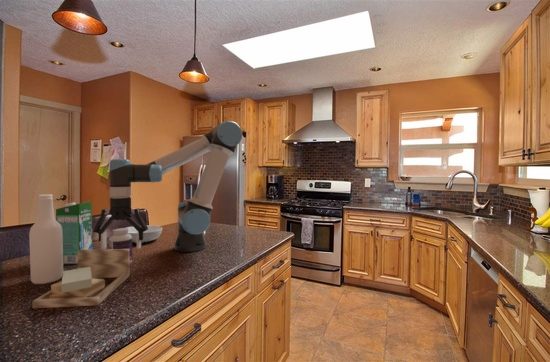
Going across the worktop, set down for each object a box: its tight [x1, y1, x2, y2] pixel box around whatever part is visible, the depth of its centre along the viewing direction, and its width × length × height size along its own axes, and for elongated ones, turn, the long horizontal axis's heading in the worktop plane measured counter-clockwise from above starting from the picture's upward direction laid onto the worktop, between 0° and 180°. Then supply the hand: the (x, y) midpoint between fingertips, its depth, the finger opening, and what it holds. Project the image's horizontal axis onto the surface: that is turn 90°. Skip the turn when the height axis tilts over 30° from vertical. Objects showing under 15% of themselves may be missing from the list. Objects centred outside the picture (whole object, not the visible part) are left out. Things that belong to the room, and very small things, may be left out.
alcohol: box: [28, 193, 64, 285], centre depth 94 cm, size 9×9×30 cm
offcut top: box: [61, 267, 92, 293], centre depth 82 cm, size 12×7×2 cm, turn 36°
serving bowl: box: [126, 224, 163, 244], centre depth 148 cm, size 21×21×7 cm
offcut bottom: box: [49, 287, 106, 299], centre depth 82 cm, size 12×7×2 cm, turn 91°
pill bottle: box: [108, 227, 133, 264], centre depth 110 cm, size 8×8×14 cm
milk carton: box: [55, 201, 93, 265], centre depth 115 cm, size 9×9×25 cm
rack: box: [31, 248, 131, 309], centre depth 87 cm, size 17×22×10 cm
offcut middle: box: [50, 278, 106, 297], centre depth 82 cm, size 12×7×2 cm, turn 78°
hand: (121, 248), depth 111 cm, fingers open, 13 cm apart
